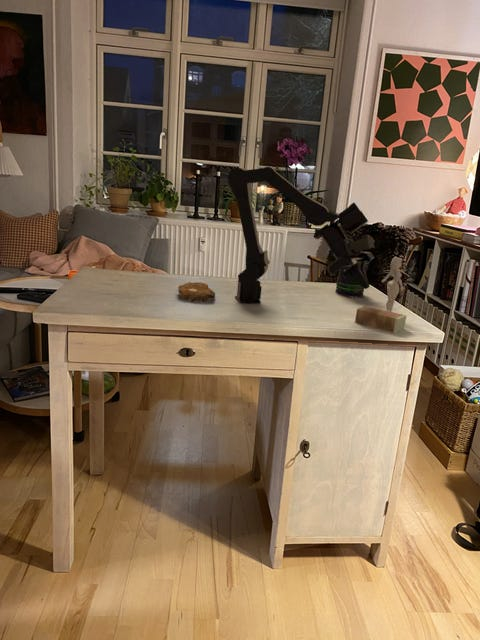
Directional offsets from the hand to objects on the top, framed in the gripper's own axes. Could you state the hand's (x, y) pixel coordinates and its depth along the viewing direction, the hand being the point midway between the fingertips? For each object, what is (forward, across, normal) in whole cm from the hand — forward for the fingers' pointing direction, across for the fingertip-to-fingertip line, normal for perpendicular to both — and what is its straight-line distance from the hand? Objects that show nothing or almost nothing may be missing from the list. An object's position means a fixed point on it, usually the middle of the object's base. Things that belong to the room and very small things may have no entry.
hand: (367, 287), depth 141 cm
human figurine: (+9, +12, +5) cm, 15 cm away
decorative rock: (-26, -20, +40) cm, 51 cm away
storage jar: (-6, +30, +20) cm, 36 cm away
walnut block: (+5, 0, +6) cm, 8 cm away
